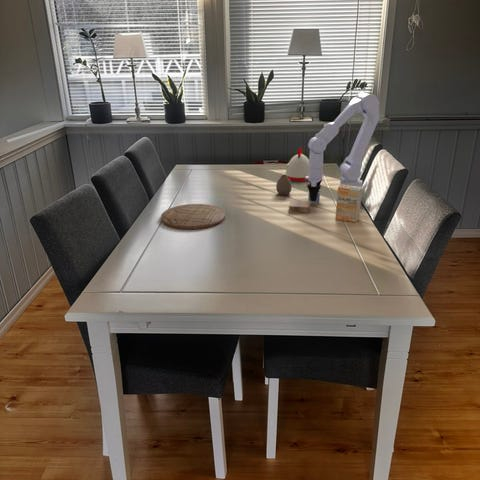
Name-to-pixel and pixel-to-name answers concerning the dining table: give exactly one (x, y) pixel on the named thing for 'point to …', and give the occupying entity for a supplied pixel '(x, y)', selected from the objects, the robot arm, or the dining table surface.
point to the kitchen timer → (298, 167)
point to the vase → (284, 185)
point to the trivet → (193, 216)
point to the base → (299, 206)
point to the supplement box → (348, 203)
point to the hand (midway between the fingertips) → (314, 198)
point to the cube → (316, 199)
